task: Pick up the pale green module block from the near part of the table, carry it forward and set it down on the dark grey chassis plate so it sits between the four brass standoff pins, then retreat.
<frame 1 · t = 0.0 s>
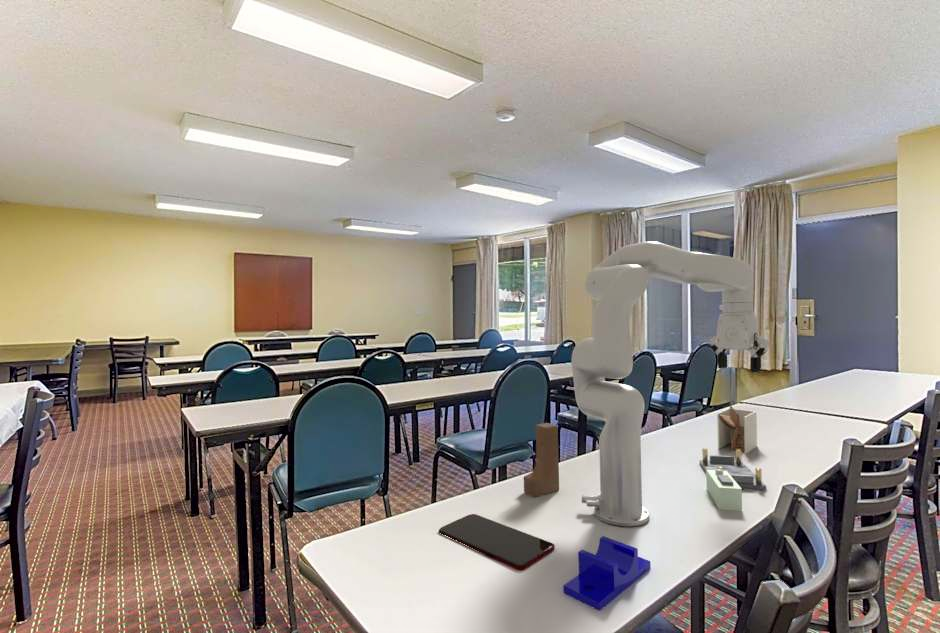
hand: (738, 369, 135), 31 cm above the table, tool pointing down, fingers open, 9 cm apart
wooden block: (541, 492, 131), on the table
smartphone: (493, 543, 105), on the table
mounting bracket: (608, 583, 88), on the table
chassis: (730, 476, 139), on the table
staircase: (737, 449, 166), on the table
pale green block: (723, 500, 123), on the table
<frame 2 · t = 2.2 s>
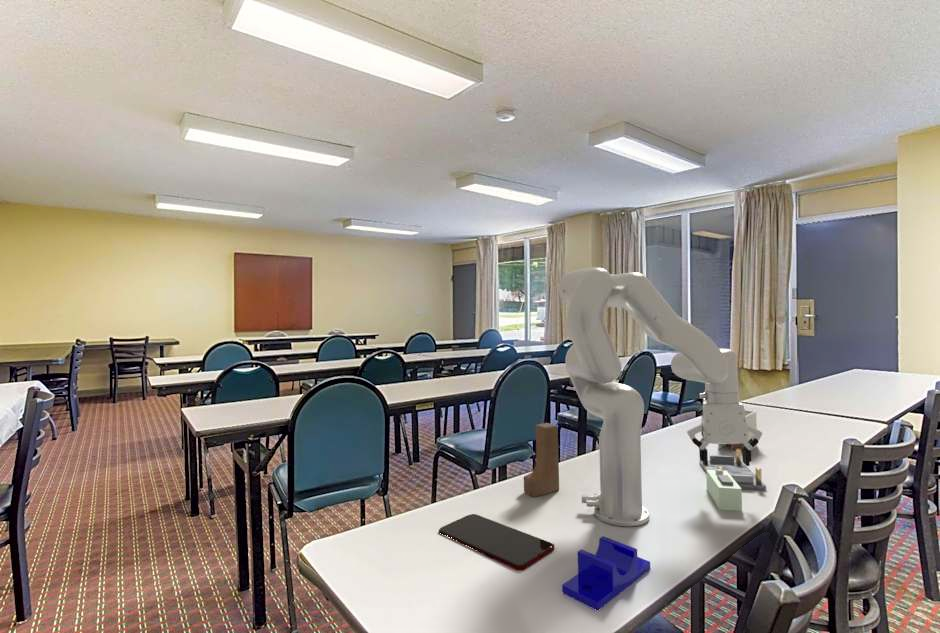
hand: (725, 463, 123), 9 cm above the table, tool pointing down, fingers open, 9 cm apart
nothing on the table moved.
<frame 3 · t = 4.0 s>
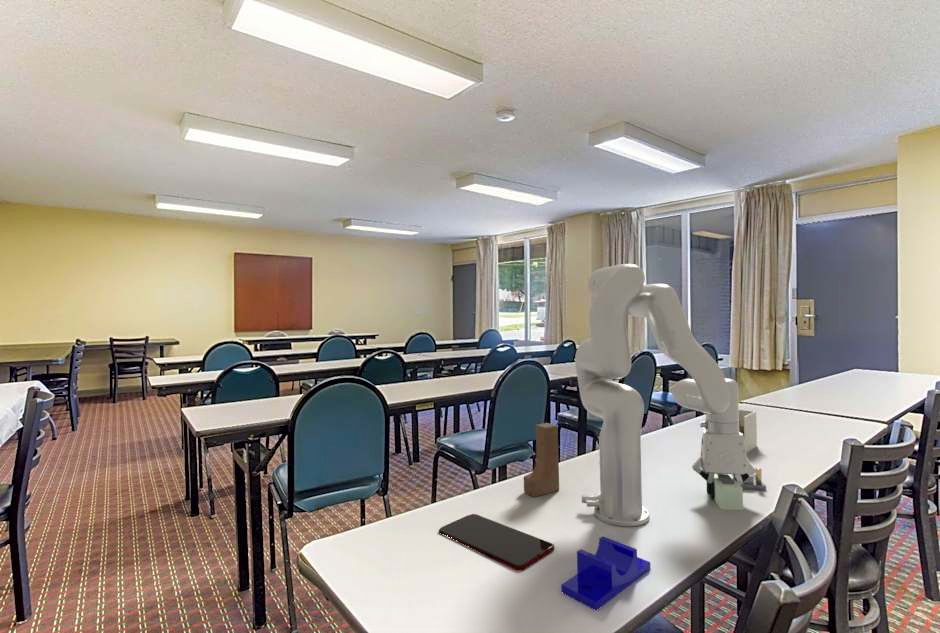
hand: (724, 496, 123), 1 cm above the table, tool pointing down, fingers closed on pale green block, 5 cm apart
pale green block: (724, 499, 123), on the table, touching gripper
everything else where it was.
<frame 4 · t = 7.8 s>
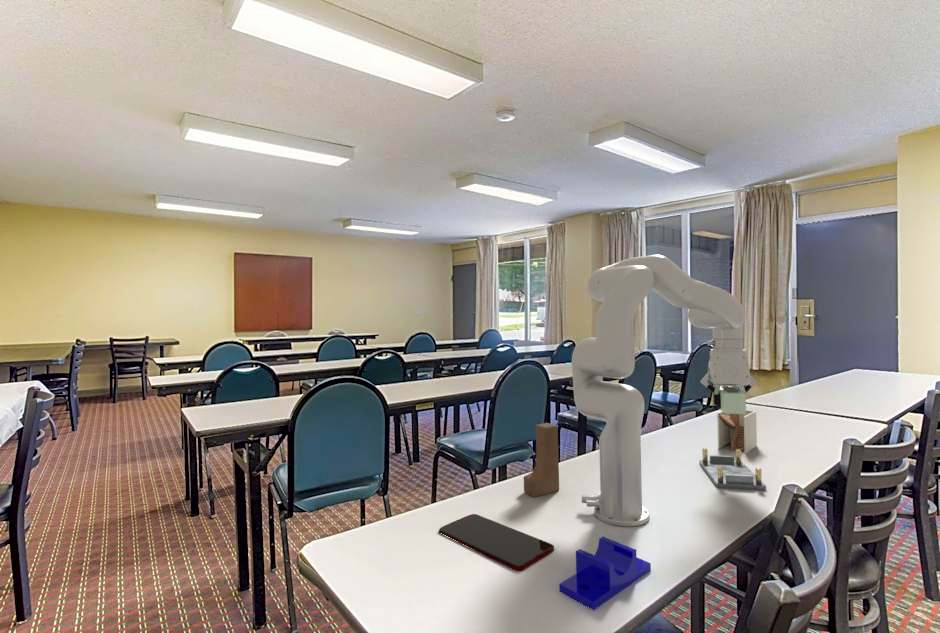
hand: (728, 407, 138), 20 cm above the table, tool pointing down, fingers closed on pale green block, 5 cm apart
pale green block: (728, 408, 138), point 20 cm above the table, touching gripper
everything else where it was.
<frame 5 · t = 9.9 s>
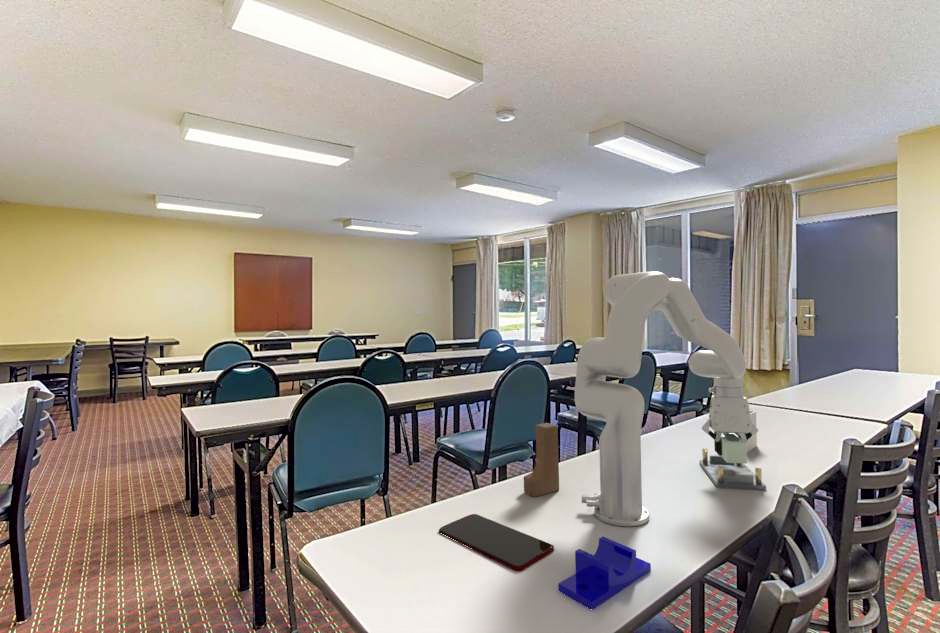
hand: (729, 454, 139), 6 cm above the table, tool pointing down, fingers closed on pale green block, 5 cm apart
pale green block: (730, 455, 139), point 6 cm above the table, touching gripper
everything else where it was.
when the fingers open (3 cm above the table, at t = 11.6 s): pale green block stays where it is, resting on chassis.
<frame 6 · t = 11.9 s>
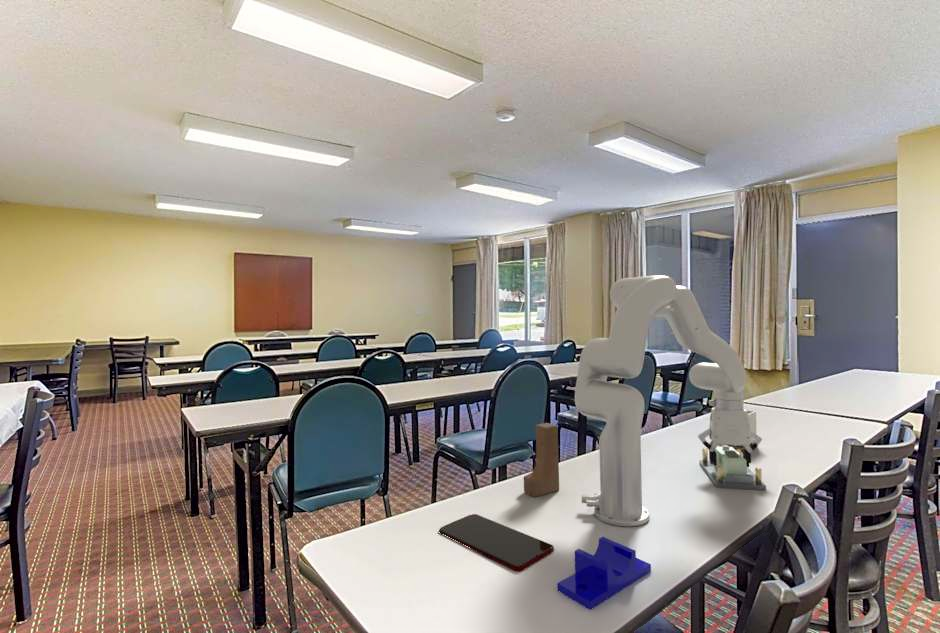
hand: (729, 464, 139), 3 cm above the table, tool pointing down, fingers open, 8 cm apart
pale green block: (729, 472, 139), point 1 cm above the table, touching chassis
everything else where it was.
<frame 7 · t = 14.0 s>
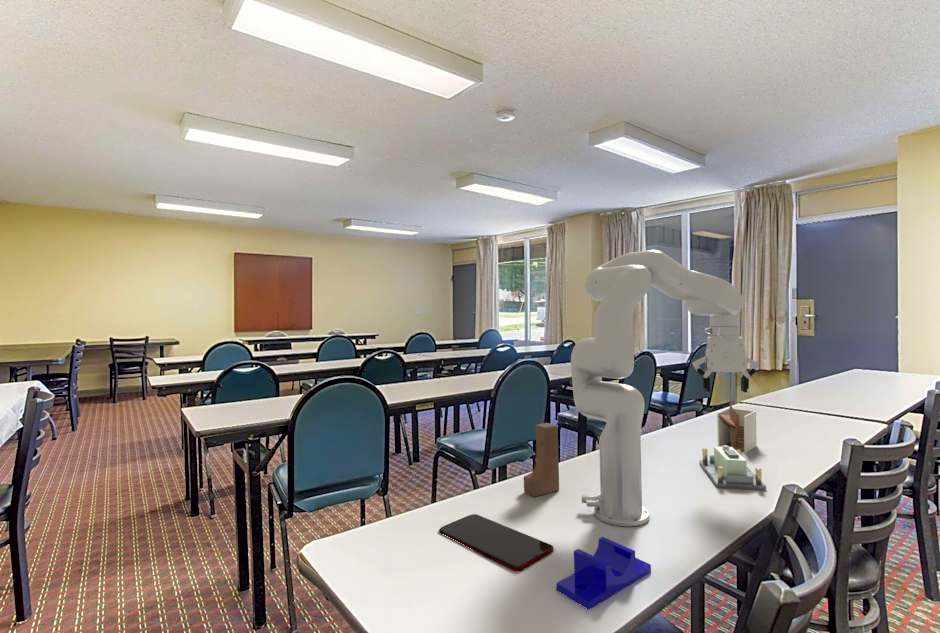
hand: (725, 391, 139), 25 cm above the table, tool pointing down, fingers open, 9 cm apart
nothing on the table moved.
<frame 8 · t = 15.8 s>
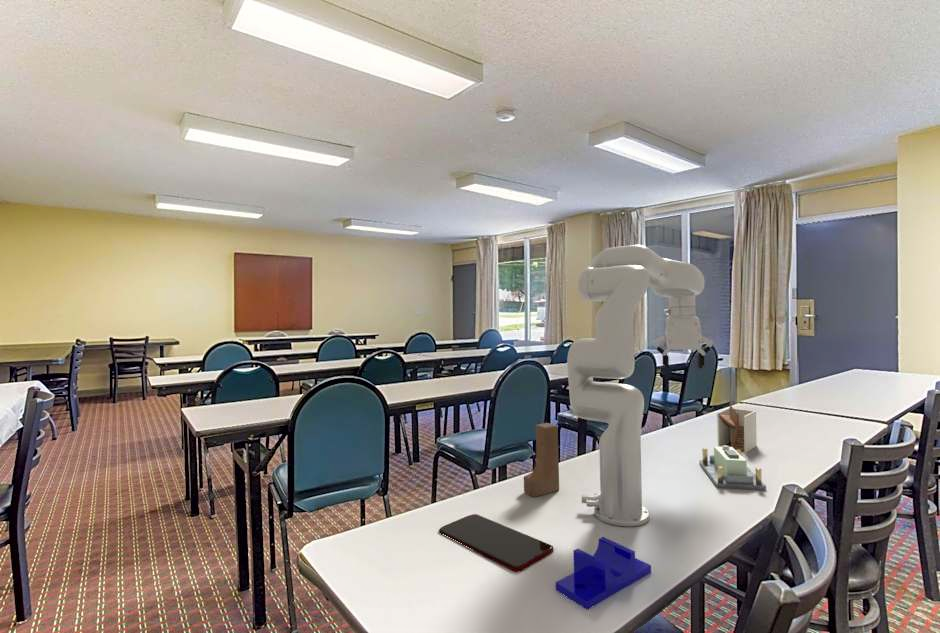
hand: (683, 368, 148), 30 cm above the table, tool pointing down, fingers open, 9 cm apart
nothing on the table moved.
at the end: pale green block inside the target area on the chassis (0.1 cm from its centre), point 1.2 cm above the chassis's base; pale green block tilted 0°; the gripper is holding nothing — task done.
